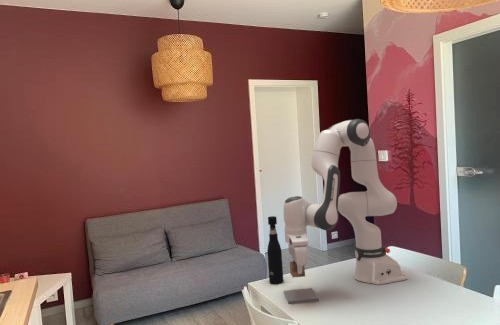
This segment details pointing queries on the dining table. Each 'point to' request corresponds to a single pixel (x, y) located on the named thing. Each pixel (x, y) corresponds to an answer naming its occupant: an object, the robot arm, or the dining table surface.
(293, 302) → the slate board
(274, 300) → the dining table surface
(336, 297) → the dining table surface
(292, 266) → the walnut block
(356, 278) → the robot arm
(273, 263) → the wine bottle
